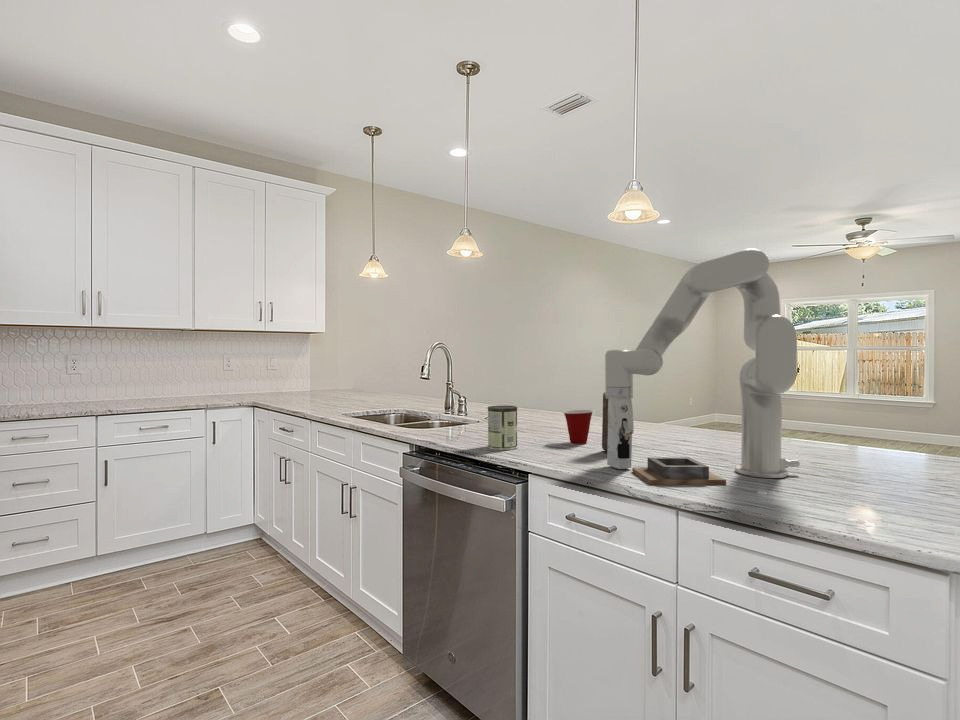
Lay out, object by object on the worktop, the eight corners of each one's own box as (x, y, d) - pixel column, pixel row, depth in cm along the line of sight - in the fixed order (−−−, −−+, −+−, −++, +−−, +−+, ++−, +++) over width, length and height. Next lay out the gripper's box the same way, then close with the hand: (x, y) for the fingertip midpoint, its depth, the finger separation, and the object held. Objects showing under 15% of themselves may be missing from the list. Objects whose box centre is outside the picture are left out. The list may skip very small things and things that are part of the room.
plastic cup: (570, 439, 195) (570, 407, 195) (597, 442, 189) (598, 409, 188) (557, 443, 186) (557, 410, 186) (585, 446, 180) (585, 412, 180)
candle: (625, 455, 165) (626, 392, 165) (602, 454, 166) (602, 392, 166) (624, 450, 173) (624, 391, 172) (601, 449, 174) (601, 390, 174)
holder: (700, 471, 142) (701, 456, 142) (726, 484, 128) (726, 467, 128) (632, 471, 141) (632, 456, 141) (650, 484, 127) (650, 467, 127)
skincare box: (606, 465, 148) (606, 423, 148) (619, 464, 150) (618, 422, 150) (620, 469, 143) (619, 426, 142) (633, 468, 144) (632, 425, 144)
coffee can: (497, 443, 185) (497, 404, 185) (522, 446, 179) (522, 406, 179) (481, 448, 176) (481, 407, 176) (508, 451, 171) (508, 409, 171)
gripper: (642, 395, 138) (642, 461, 138) (623, 390, 155) (623, 449, 155) (614, 395, 137) (614, 462, 138) (598, 391, 155) (598, 450, 155)
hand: (619, 455), depth 146 cm, fingers closed on skincare box, 7 cm apart
